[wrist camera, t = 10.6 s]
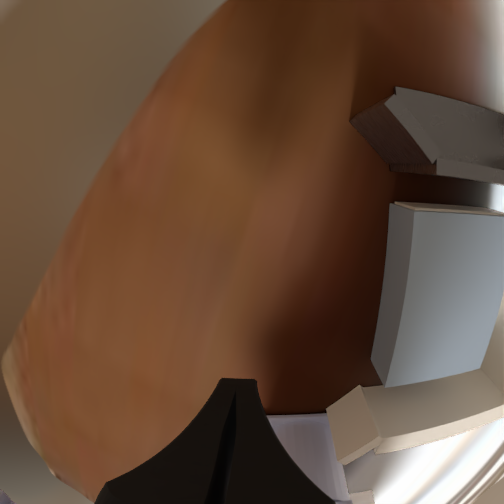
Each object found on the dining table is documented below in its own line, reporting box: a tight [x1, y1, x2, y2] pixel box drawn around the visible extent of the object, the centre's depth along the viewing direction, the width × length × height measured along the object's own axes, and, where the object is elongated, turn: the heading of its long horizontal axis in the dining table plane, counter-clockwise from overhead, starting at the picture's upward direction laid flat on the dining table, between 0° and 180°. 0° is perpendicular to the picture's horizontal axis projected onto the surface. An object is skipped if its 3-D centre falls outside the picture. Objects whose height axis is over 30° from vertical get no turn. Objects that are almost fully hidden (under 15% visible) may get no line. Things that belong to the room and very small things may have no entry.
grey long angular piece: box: [349, 87, 504, 186], centre depth 14 cm, size 6×16×6 cm, turn 91°
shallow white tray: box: [326, 292, 504, 465], centre depth 17 cm, size 22×18×6 cm
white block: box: [370, 202, 504, 388], centre depth 18 cm, size 12×9×4 cm
